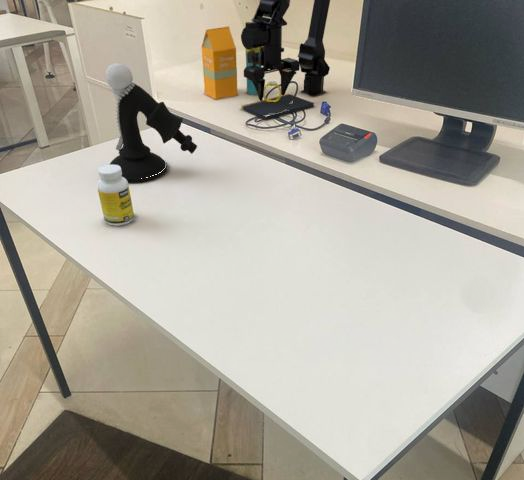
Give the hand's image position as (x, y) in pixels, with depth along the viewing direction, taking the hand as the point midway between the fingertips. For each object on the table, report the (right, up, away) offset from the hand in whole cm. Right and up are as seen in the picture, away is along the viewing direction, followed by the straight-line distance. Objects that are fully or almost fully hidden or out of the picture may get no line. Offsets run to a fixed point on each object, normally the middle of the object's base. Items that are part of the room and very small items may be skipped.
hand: (271, 97), depth 173 cm
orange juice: (-17, +6, +11) cm, 22 cm away
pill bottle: (-35, -54, -55) cm, 84 cm away
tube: (-6, +7, +12) cm, 15 cm away
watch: (0, -1, +1) cm, 2 cm away
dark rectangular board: (+2, -3, 0) cm, 4 cm away
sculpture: (-31, -36, -36) cm, 60 cm away
